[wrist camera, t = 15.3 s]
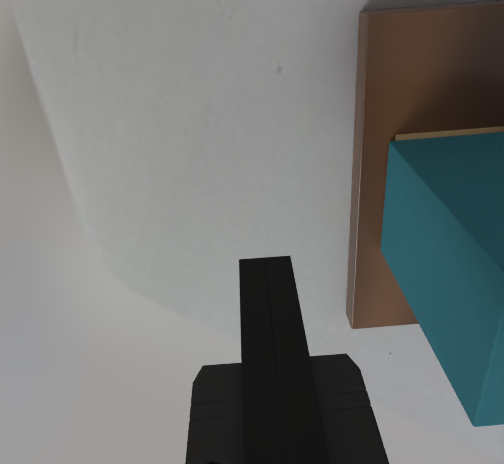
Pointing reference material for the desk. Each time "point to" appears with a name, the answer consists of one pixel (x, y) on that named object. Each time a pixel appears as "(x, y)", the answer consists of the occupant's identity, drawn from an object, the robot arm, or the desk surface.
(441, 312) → the teal block
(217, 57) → the desk surface
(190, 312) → the desk surface
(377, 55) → the wooden stand
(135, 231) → the desk surface
